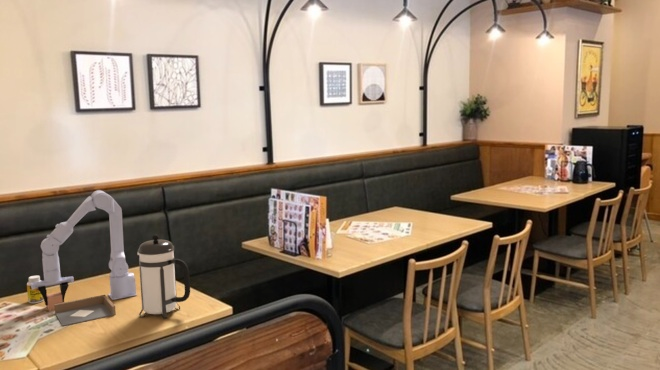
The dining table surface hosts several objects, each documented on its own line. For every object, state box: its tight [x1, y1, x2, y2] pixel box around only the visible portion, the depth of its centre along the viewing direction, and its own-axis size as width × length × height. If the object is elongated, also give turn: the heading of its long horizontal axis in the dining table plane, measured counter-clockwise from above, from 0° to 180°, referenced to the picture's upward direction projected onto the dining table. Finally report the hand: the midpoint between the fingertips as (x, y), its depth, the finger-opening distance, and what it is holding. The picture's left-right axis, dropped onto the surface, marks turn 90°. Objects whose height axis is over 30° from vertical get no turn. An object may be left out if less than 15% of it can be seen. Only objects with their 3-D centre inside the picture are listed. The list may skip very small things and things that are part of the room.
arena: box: [54, 294, 117, 327], centre depth 202 cm, size 18×16×3 cm
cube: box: [46, 291, 64, 311], centre depth 210 cm, size 5×5×5 cm
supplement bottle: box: [26, 275, 44, 304], centre depth 216 cm, size 6×6×10 cm
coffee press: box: [137, 233, 191, 320], centre depth 201 cm, size 17×16×30 cm
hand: (54, 303), depth 210 cm, fingers closed on cube, 5 cm apart
